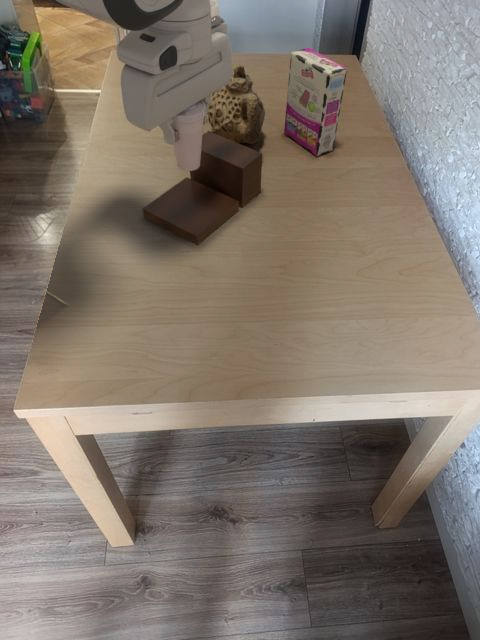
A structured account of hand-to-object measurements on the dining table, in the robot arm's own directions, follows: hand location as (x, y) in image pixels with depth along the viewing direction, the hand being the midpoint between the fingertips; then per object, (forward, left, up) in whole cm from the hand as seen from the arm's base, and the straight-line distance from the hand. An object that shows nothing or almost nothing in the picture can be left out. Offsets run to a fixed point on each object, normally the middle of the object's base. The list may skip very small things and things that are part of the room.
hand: (185, 132), depth 78 cm
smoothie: (0, 0, -6) cm, 6 cm away
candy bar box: (+4, +34, -15) cm, 38 cm away
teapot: (-8, +25, -15) cm, 31 cm away
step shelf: (0, +4, -15) cm, 16 cm away
